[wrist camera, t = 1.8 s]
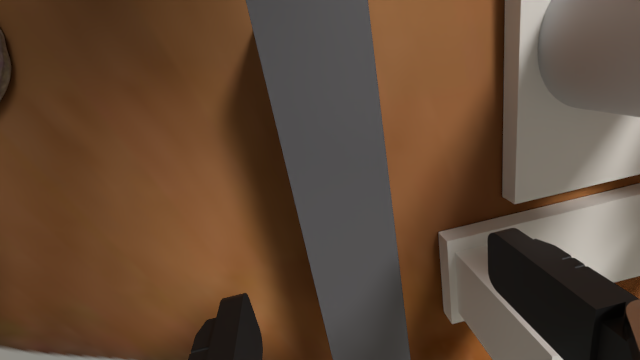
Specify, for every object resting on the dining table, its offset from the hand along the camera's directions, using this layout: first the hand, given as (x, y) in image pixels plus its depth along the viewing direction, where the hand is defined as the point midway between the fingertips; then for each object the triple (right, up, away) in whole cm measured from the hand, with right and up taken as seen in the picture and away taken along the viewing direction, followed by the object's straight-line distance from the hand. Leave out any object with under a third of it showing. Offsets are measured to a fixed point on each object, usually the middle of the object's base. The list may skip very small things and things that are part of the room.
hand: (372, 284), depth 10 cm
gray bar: (-1, +4, +9) cm, 10 cm away
